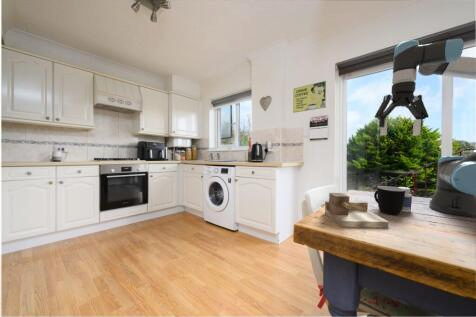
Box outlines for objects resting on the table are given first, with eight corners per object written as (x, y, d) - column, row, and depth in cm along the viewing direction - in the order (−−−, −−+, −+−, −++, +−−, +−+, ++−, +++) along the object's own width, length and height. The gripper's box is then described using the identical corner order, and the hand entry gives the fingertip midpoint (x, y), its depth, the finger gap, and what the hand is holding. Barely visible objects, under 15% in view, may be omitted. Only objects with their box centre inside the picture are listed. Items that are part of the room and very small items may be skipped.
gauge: (341, 210, 78) (342, 192, 78) (357, 221, 68) (358, 201, 67) (328, 210, 79) (329, 192, 78) (342, 221, 68) (343, 200, 67)
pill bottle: (414, 212, 83) (416, 189, 82) (401, 212, 83) (402, 189, 82) (403, 208, 88) (405, 186, 87) (391, 208, 88) (392, 186, 87)
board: (364, 213, 81) (365, 201, 80) (388, 227, 68) (389, 213, 67) (324, 213, 81) (325, 201, 80) (340, 226, 68) (341, 212, 68)
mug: (409, 216, 79) (411, 190, 78) (389, 217, 77) (391, 191, 77) (382, 206, 91) (384, 184, 90) (365, 207, 89) (366, 184, 88)
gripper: (425, 85, 85) (421, 135, 87) (366, 85, 86) (364, 135, 87) (443, 80, 78) (438, 135, 80) (379, 80, 78) (375, 134, 80)
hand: (399, 135), depth 83 cm, fingers open, 13 cm apart
